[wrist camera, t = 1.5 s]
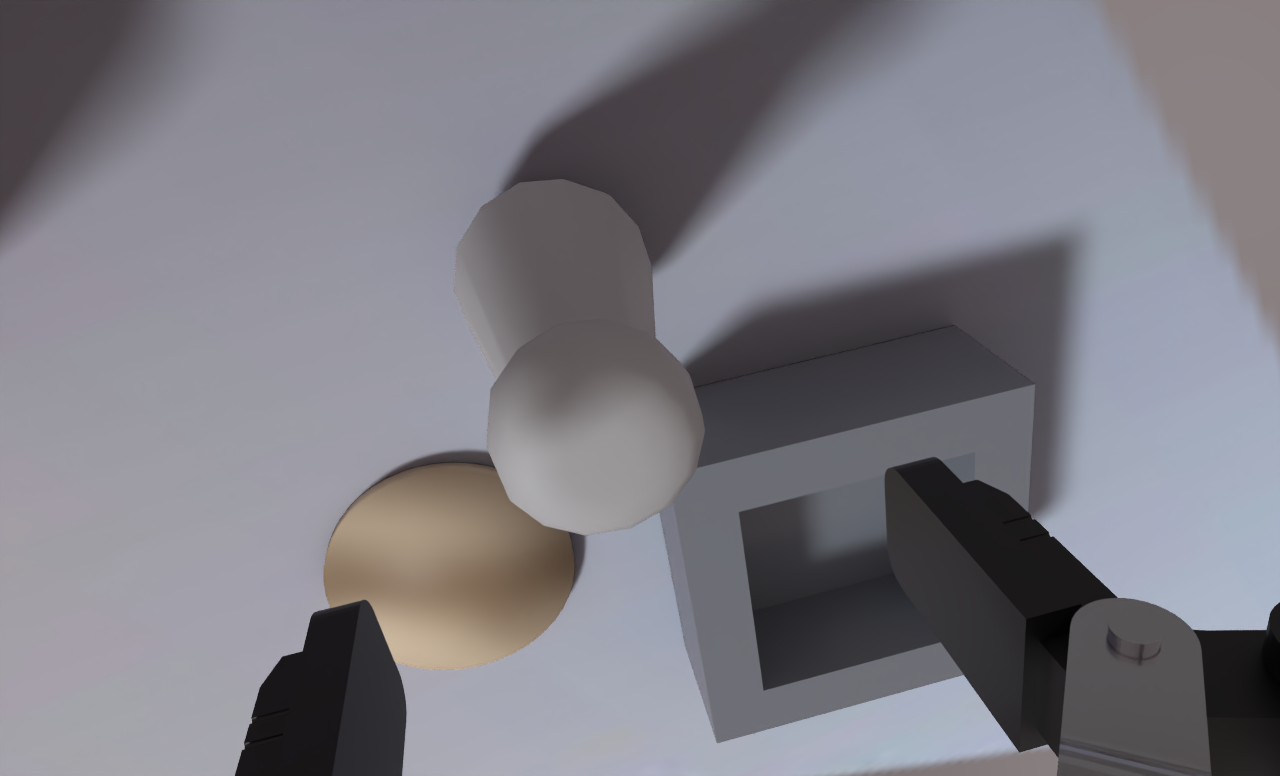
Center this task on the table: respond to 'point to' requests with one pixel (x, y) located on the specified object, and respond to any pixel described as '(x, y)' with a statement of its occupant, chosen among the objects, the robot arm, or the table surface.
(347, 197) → the table surface
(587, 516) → the salt shaker
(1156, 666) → the robot arm
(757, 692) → the well
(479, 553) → the cork coaster
